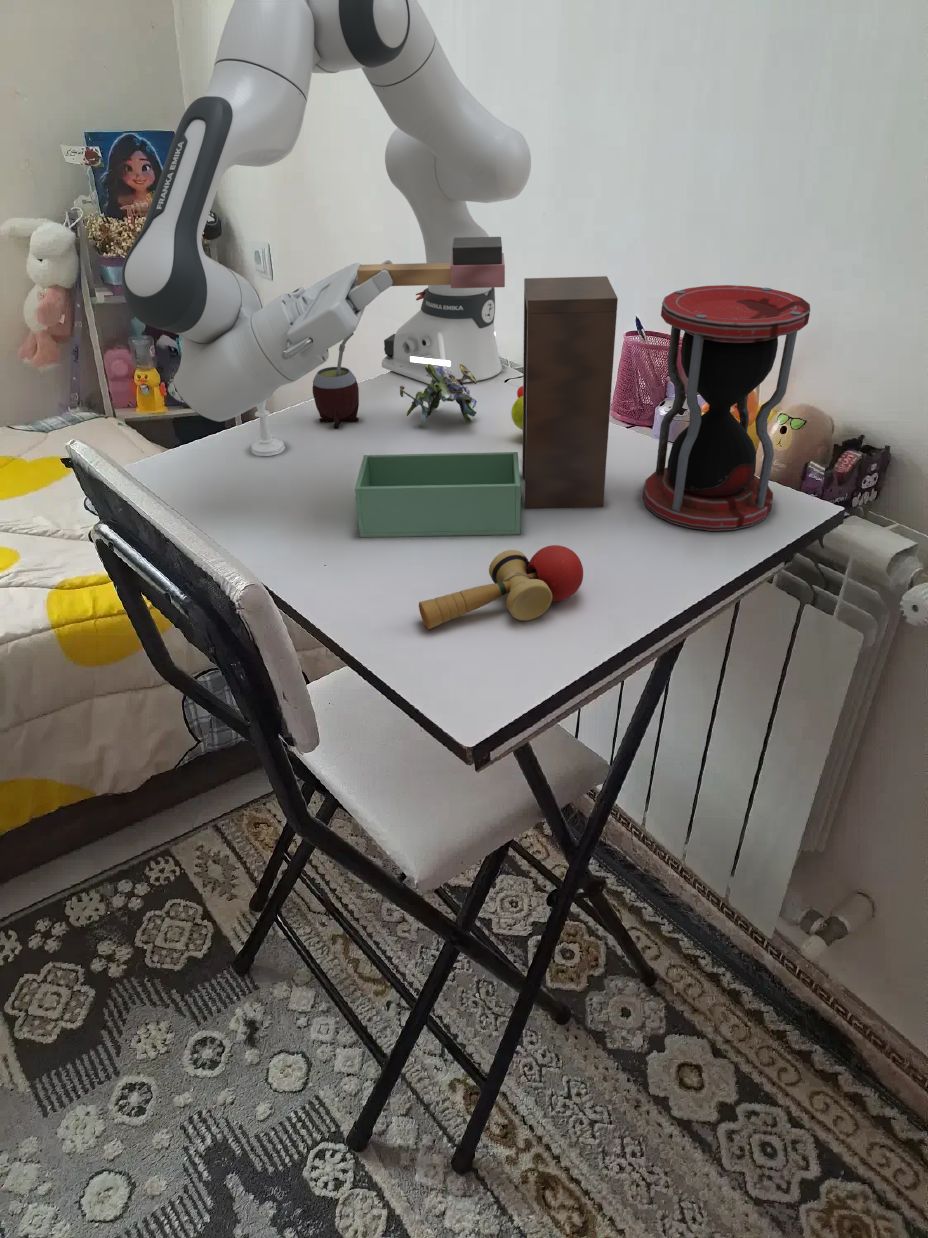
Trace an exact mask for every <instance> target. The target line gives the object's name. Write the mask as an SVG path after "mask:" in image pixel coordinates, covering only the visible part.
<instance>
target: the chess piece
mask: <svg viewBox="0 0 928 1238" xmlns="http://www.w3.org/2000/svg"><path fill="white" fill-rule="evenodd" d="M267 400H268V399H266V400H265V401H263V402H262V403H260V404H258V405H257V406H255V408H256V409H257V411H255V412H254V417H257V418H259V432H260V434H259V435H260V437H259V439H258V440H257V441H255V442H254V443H253V444H252V445H251V453H252V455H255V456H257V457H271V456H276V455H279V454H281V453H282V452H284V451H285V449H286V447H285V443H284V441H282V440H281V439H279V438H275V437H274V436H272V431H271V429H270V426H269V422H268V418H267V417H269V416H270V414H271V413H270V410H267V409H266V406H267Z"/></svg>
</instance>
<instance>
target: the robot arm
mask: <svg viewBox="0 0 928 1238" xmlns="http://www.w3.org/2000/svg"><path fill="white" fill-rule="evenodd" d="M225 21H226V22H225V24H224V27H223V30H222V33H221V36H220V40H219V43H218V47H217V51H216V55H215V59H214V63H213V68H212V74H211V77H210V80H209V84H208V87H207V89H206V90H205V92H204V95H203V96H201V97H198V98H196V99H195V100H194V101H193V102H192V103H190V104H189V106H188V107H187V108H186V110H185V111H184V113H183V115H182V117H181V119H180V121H179V123H178V126H177V128H176V131H175V133H174V136H173V138H172V141H171V145H170V147H169V150H168V153H167V156H166V158H165V162H164V165H163V167H162V169H161V170H162V171H161V173H160V176H159V178H158V182H157V185H156V188H155V191H154V194H153V196H152V200H151V203H150V206H149V208H148V211H147V214H146V217H145V219H144V222H143V225H142V226H141V229H140V231H139V232H138V235H137V237H136V238H135V239H134V241H133V243H132V245H131V246H130V248H129V250H128V252H127V254H126V256H125V259H124V262H123V265H122V267H121V268H122V269H121V287H122V293H123V297H124V300H125V302H126V305H127V307H128V310H130V312H131V313H132V315H133V316H134V318H136V319H137V320H138V321H139V322H140V323H142V324H144V325H145V326H147V327H151V328H153V329H157V330H161V331H165V332H168V333H172V334H175V335H178V336H180V337H181V344H182V345H181V357H180V363H179V366H178V369H177V371H176V373H175V374H174V375H173V386H174V388H175V390H176V392H177V394H178V396H179V397H180V399H181V400H182V401H183V402H184V404H185V405H186V406H187V407H189V408H190V409H191V410H192V411H193V412H195V413H196V415H198V416H201V417H202V418H204V419H207V420H210V421H214V422H219V423H221V422H226V421H229V420H232V419H234V418H236V417H237V416H240V415H242V414H244V413H246V412H248V411H250V410H251V409H253V408H256V406H257V405H258V404H260V403H262V402H263V401H265V400H266V399H267V400H268V399H270V398H271V396H272V395H273V394H274V393H275V391H277V390H278V389H279V388H281V387H282V386H286V385H289V384H293V383H295V382H296V381H298V380H299V379H301V378H303V377H304V376H306V375H308V374H309V373H310V372H312V371H314V370H315V369H317V368H318V367H320V366H322V365H323V364H325V363H326V362H328V360H329V356H330V353H329V349H330V348H332V347H334V346H336V345H337V344H339V343H340V342H343V340H344V339H345V338H347V337H348V336H349V335H351V334H352V333H354V332H356V331H357V328H358V326H359V323H360V321H361V318H362V316H363V314H364V311H365V309H366V306H369V304H371V303H372V302H373V301H374V300H376V298H378V297H379V296H380V295H381V293H383V292H384V291H386V290H387V289H390V288H391V287H392V286H391V285H392V283H393V277H392V275H391V274H390V272H389V271H388V270H387V269H382V270H381V271H379V272H378V273H376V274H375V275H373V277H372V278H370V279H369V280H367V281H365V282H364V283H362V284H361V285H358V275H357V270H358V268H359V266H360V265H362V264H361V263H360V262H355V263H352V264H349V265H347V266H345V267H343V268H342V269H341V268H340V269H339V270H337V271H336V272H334V273H332V274H331V275H329V276H327V277H325V278H323V279H321V280H320V281H317V282H316V283H314V284H313V285H311V286H309V287H308V288H307V289H305V288H304V287H303V286H300V287H299V288H297V289H295V290H294V291H292V292H289V293H286V292H285V293H282V294H281V295H279V296H278V297H276V298H275V299H274V300H272V301H270V302H269V303H267V304H266V305H265V306H263V304H262V300H261V298H260V296H259V293H258V291H257V290H256V288H255V286H253V285H252V284H251V283H250V281H248V279H246V278H244V277H243V276H242V275H240V274H239V273H237V272H235V271H234V270H233V269H231V268H229V267H227V266H226V265H224V264H222V263H219V262H218V261H216V260H214V259H213V258H211V257H209V256H208V255H206V252H205V251H204V247H203V241H202V239H203V234H204V230H205V227H206V225H207V221H208V218H209V215H210V212H211V210H212V207H213V203H214V201H215V198H216V194H217V192H218V189H219V186H220V182H221V181H222V178H223V177H224V175H225V173H226V172H227V171H228V170H229V169H230V168H232V167H233V166H244V167H253V168H254V167H257V168H258V167H259V168H261V167H267V166H271V165H275V164H277V163H279V162H280V161H282V160H284V159H285V158H287V157H288V156H289V155H290V154H291V153H292V152H293V149H294V147H295V146H296V144H297V142H298V139H299V136H300V134H301V130H302V127H303V123H304V118H305V114H306V110H307V109H306V108H307V103H308V99H309V93H310V88H311V81H312V75H313V74H337V73H340V72H345V71H346V72H347V71H351V70H357V69H361V70H362V72H363V74H364V76H365V78H366V79H367V81H368V83H369V85H370V87H371V89H372V90H373V92H374V93H375V95H376V96H377V98H378V100H379V102H380V104H381V106H382V107H383V109H384V110H385V112H386V114H387V116H388V117H389V119H390V121H391V122H392V124H393V125H395V126H396V127H397V128H395V129H394V130H393V132H392V133H391V134H390V136H389V138H388V141H387V143H386V147H385V151H384V152H385V153H384V164H385V169H386V174H387V176H388V178H389V180H390V182H391V183H392V185H393V186H394V187H395V188H396V189H397V190H398V191H399V192H400V193H401V194H402V196H404V198H405V199H406V201H407V203H408V204H409V206H410V208H411V210H412V211H413V214H414V216H415V218H416V221H417V224H418V227H419V229H420V232H421V236H422V239H423V244H424V252H425V263H451V256H452V254H453V252H452V247H453V240H454V238H463V237H490V236H489V234H488V232H487V231H486V230H485V229H484V228H483V227H481V226H480V225H479V224H478V222H476V221H475V220H474V218H473V216H472V215H471V213H470V211H469V207H468V205H467V202H470V203H472V202H473V203H480V204H481V203H482V204H490V203H491V204H492V203H496V202H504V201H508V200H513V199H515V198H517V197H518V196H520V194H521V193H522V191H523V190H524V189H525V187H526V186H527V184H528V181H529V178H530V175H531V170H532V155H531V150H530V146H529V144H528V142H527V139H526V137H525V136H524V135H523V134H522V133H521V132H520V131H519V130H517V129H515V128H513V127H511V126H509V125H507V124H506V123H504V122H503V121H501V120H500V119H498V118H497V117H496V116H494V115H493V113H491V112H490V111H489V110H488V109H487V108H486V107H485V106H484V105H483V104H481V102H480V101H479V100H478V99H477V98H476V97H475V96H473V94H472V93H471V92H470V91H469V90H468V88H466V86H465V85H464V84H463V82H462V81H461V80H460V78H459V77H458V76H457V74H456V72H455V70H454V68H453V66H452V65H451V63H450V61H449V59H448V57H447V55H446V53H445V51H444V49H443V46H442V45H441V43H440V41H439V39H438V37H437V35H436V32H435V31H434V28H433V27H432V24H431V23H430V21H429V18H428V16H427V15H426V13H425V11H424V10H423V8H422V7H421V5H420V2H419V1H418V0H234V1H233V3H232V6H231V8H230V10H229V13H228V16H227V18H226V20H225ZM381 264H394V263H393V262H392V261H391V260H390V259H386V260H385V261H383V262H381ZM495 288H496V287H493V288H451V285H427V287H426V288H424V289H423V290H422V291H420V292H416V293H415V296H417V297H416V298H415V301H419V300H422V302H421V306H420V310H419V311H417V312H416V313H415V314H414V315H412V317H410V318H409V320H407V321H406V322H405V323H404V324H403V325H401V326H400V327H399V328H398V329H397V330H396V332H395V333H393V334H391V335H389V336H388V337H387V338H385V339H384V340H383V345H384V347H383V351H384V355H386V356H385V357H384V358H383V359H381V360H382V361H381V368H383V369H386V370H388V371H391V372H394V373H396V374H399V375H402V376H405V377H408V378H411V379H413V380H415V381H419V382H421V383H425V384H427V385H429V386H430V385H431V380H432V378H431V376H430V375H429V374H428V373H427V371H426V369H425V365H426V364H432V365H433V366H434V368H435V369H436V368H438V365H439V366H440V367H441V366H442V367H443V368H444V369H446V370H447V371H449V372H450V371H451V373H452V374H453V375H454V377H455V378H456V379H461V378H462V377H463V374H462V372H461V369H460V364H462V365H464V366H465V367H466V368H467V369H468V370H469V371H470V372H471V374H472V375H473V376H474V377H475V378H476V381H477V382H479V381H484V380H487V379H490V378H493V377H496V376H498V375H499V374H500V373H501V372H502V371H503V365H502V361H501V359H500V355H499V351H498V345H497V338H496V335H497V334H496V330H495V317H496V316H495V314H496V289H495ZM427 367H428V366H427ZM442 367H441V368H442ZM471 382H472V381H470V380H469V379H465V380H464V381H463V383H471ZM472 383H473V382H472Z"/></svg>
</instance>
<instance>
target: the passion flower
mask: <svg viewBox="0 0 928 1238" xmlns="http://www.w3.org/2000/svg"><path fill="white" fill-rule="evenodd" d="M427 366H428V367H427ZM441 367H442V366H441ZM441 367H440V366H439V365H438V368H436V369H435V368H434V366H433V365H432V364H426V365H425V369H426V371H427V373H428V374H429V375H430V376H431V378H432V380H431V385H430V384H427V386H426V387H425V388H424V390H423V392H422V391H418V392H417V393H416V394H415V397H413V395H411V394H409V393H408V392H406V391H405V389H406V388H405V387H406V386H404V385H399V395H400V397H401V398H404V394H405V395H406V396H407V397H409V398H411V399H412V400H413V401H411V406H410V407H409V408H408V410H407V412H406V417H409V416H410V415H411V413H412V412H413V411H414V409H416V408H417V407H418V406H420V407H421V412H420V413H421V418H420V423H419V426H418V428H421V427H422V425H423V424H424V422H425V420H427V419H428V418H429V417H430V416H431V414H432V412H433V411H434V410H436V409H438V408H439V406H440V402H441V401H442V402H444V403H445V402H454V401H455V402H456V403H457V404H458V405H459V407H460V413H461V415H462V418H463V419H464V421H466V422H469V423H473V417H475V416H476V414H477V411H476V410H475V409H474V408H475V407H476V406H477V402H478V401H477V400H476V399H474V398H473V397H472V395H471V392H470V391H471V390H470V389H469V388H468V387H467V386H464V382H463V381H464V380H465V379H469V380H470V381H472V383H473V384H475V385H476V384H477V383H478V381H476V378H475V377H474V376H473V375H472V374H471V372H470V371H469V370H468V369H467V368H466V367H465V366H464V365H462V364H460V369H461V372H462V374H463V377H462V378H461V379H456V378H455V377H454V375H453V374H452V373H451V371H450V372H449V371H447V370H446V369H444V368H443V367H442V368H441ZM424 403H426V404H427V406H425V405H424Z"/></svg>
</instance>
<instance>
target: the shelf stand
mask: <svg viewBox="0 0 928 1238" xmlns="http://www.w3.org/2000/svg"><path fill="white" fill-rule="evenodd" d="M523 281H524V282H523V356H522V359H523V361H522V362H523V364H522V367H523V368H522V369H523V370H522V373H523V374H522V386H523V430H522V448H521V449H522V450H521V451H522V452H521V453H522V456H521V457H522V459H521V460H522V463H521V465H522V466H521V467H522V468H521V476H522V479H524V509H559V508H562V509H563V508H565V509H566V508H603V507H604V501H605V499H604V498H605V485H606V484H605V483H606V472H607V471H606V469H607V457H608V443H609V442H608V441H609V429H610V428H609V427H610V415H611V414H610V412H611V400H612V388H613V387H612V386H613V371H614V357H615V355H614V354H615V343H616V331H617V329H616V328H617V314H618V301H619V298H618V295H617V294H616V292H615V290H614V288H613V286H612V284H611V281H610V280H609V278H608V276H607V275H603V276H602V275H601V276H599V275H598V276H568V277H567V276H565V277H564V276H563V277H561V276H560V277H531V278H530V277H526V278H523Z"/></svg>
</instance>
